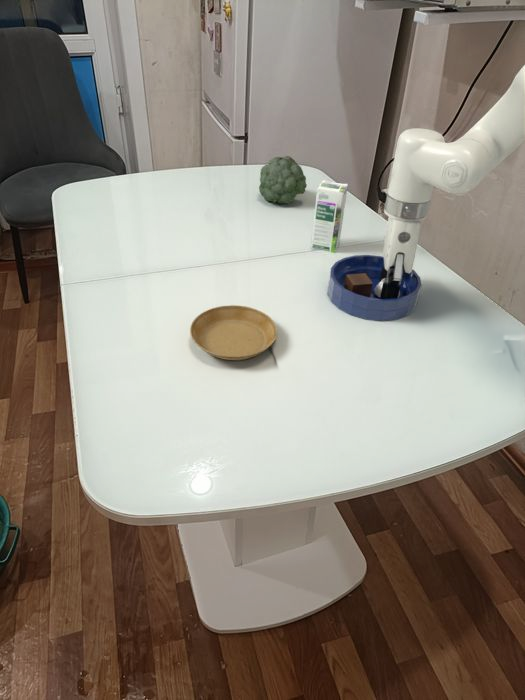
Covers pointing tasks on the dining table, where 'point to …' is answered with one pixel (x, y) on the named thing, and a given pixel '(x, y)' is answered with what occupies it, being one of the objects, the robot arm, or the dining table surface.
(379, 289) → the white jar
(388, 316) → the bowl
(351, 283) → the walnut block
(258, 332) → the plant saucer
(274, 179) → the vegetable
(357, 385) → the dining table surface
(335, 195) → the syrup box
